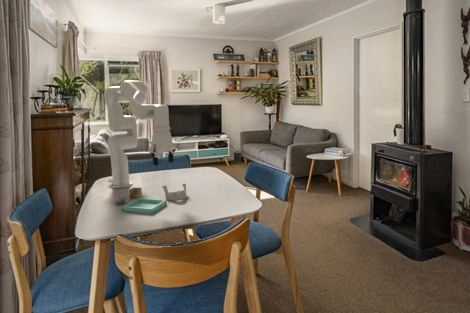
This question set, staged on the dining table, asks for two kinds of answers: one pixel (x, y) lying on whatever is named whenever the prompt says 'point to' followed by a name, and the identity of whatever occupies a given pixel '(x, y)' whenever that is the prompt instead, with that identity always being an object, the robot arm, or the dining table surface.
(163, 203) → the tray
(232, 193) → the dining table surface
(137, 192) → the walnut block
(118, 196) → the grey metal cylinder
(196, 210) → the dining table surface
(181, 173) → the dining table surface
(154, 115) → the robot arm
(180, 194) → the anatomical model
